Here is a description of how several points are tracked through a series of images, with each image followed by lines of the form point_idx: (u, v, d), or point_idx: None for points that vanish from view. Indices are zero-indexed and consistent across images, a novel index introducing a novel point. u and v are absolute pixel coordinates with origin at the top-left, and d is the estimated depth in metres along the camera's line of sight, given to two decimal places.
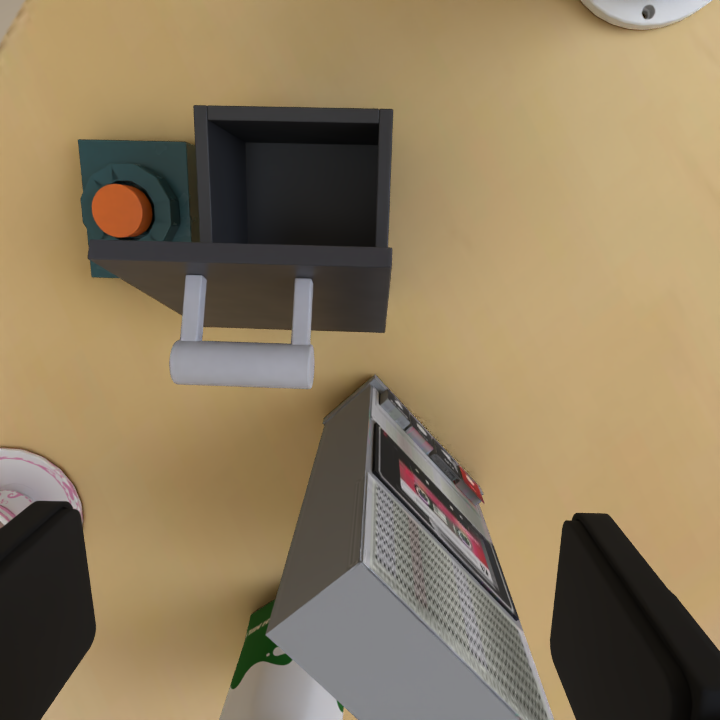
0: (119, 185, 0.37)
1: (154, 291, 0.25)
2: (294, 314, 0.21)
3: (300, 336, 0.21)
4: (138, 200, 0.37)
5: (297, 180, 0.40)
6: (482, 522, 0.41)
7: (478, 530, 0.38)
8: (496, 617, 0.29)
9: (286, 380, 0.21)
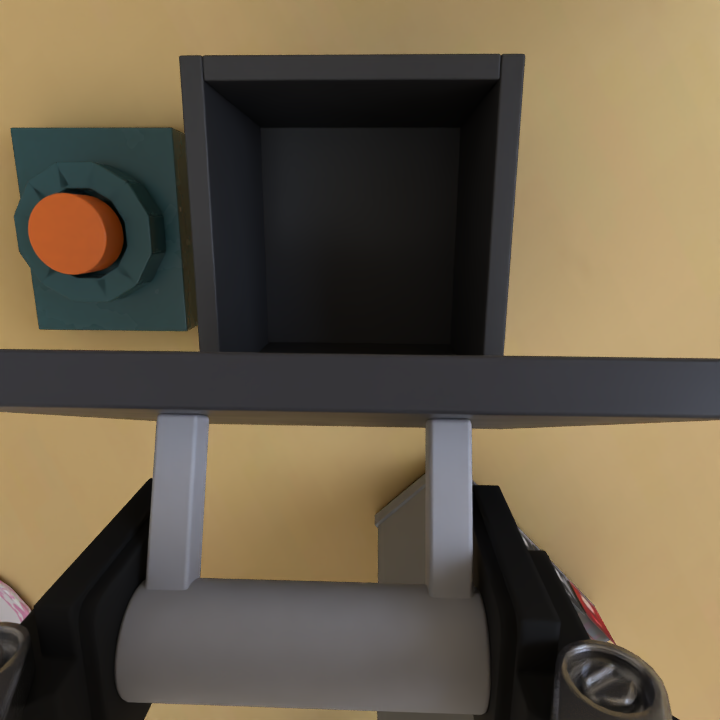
0: (69, 195, 0.24)
1: (99, 416, 0.12)
2: (434, 515, 0.08)
3: (452, 574, 0.08)
4: (99, 217, 0.24)
5: (338, 182, 0.27)
6: None
7: None
8: None
9: (427, 708, 0.08)
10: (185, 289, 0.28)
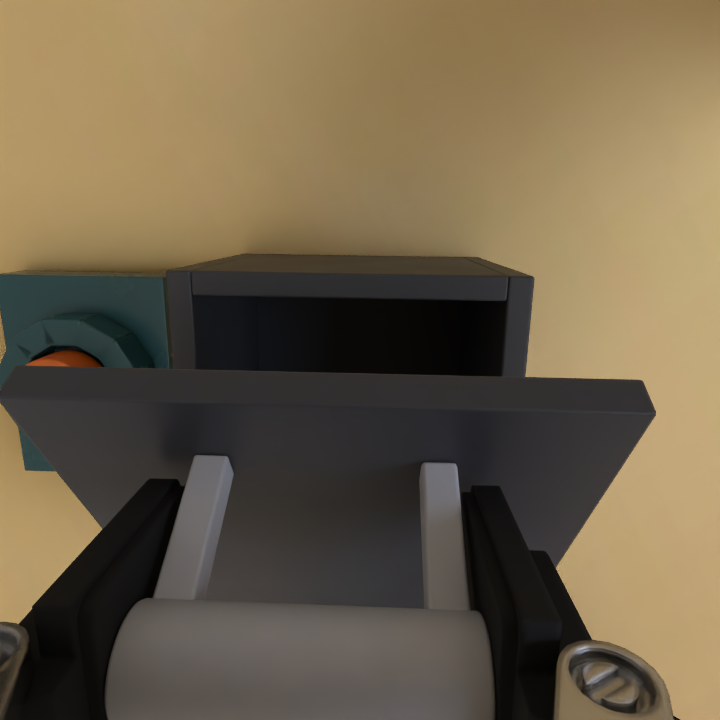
0: (54, 361, 0.23)
1: None
2: (429, 535, 0.09)
3: (449, 588, 0.09)
4: None
5: (336, 326, 0.26)
6: None
7: None
8: None
9: (431, 713, 0.07)
10: None
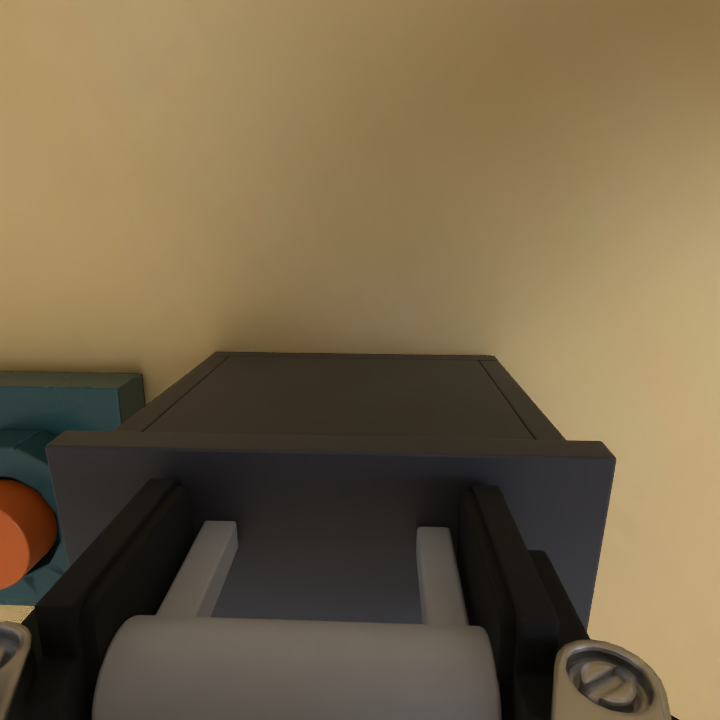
0: None
1: None
2: (426, 576, 0.10)
3: (448, 614, 0.09)
4: (20, 529, 0.19)
5: None
6: None
7: None
8: None
9: (434, 698, 0.07)
10: None
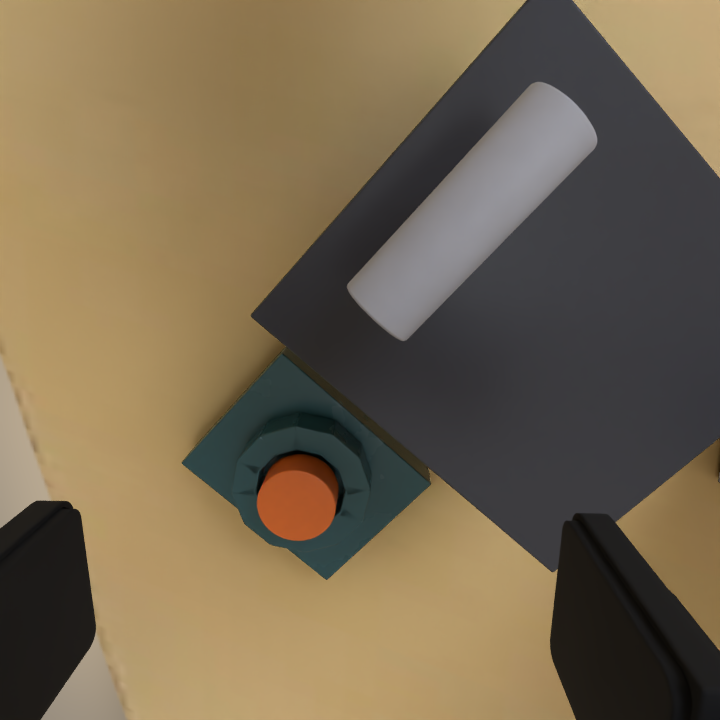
0: (272, 478, 0.24)
1: (382, 402, 0.16)
2: None
3: None
4: (306, 472, 0.24)
5: None
6: None
7: None
8: None
9: (518, 123, 0.10)
10: (399, 455, 0.27)
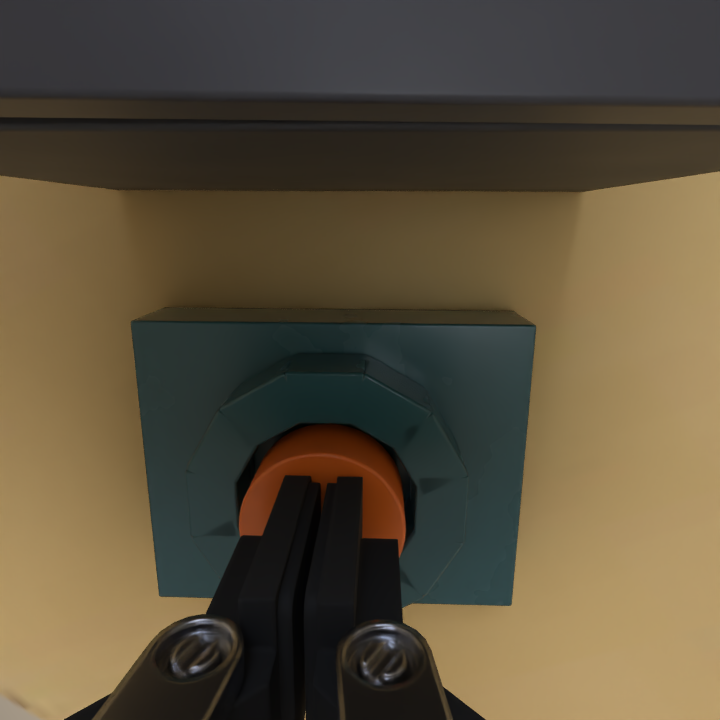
0: (242, 515, 0.11)
1: None
2: None
3: None
4: (284, 461, 0.11)
5: None
6: None
7: None
8: None
9: None
10: (445, 323, 0.13)
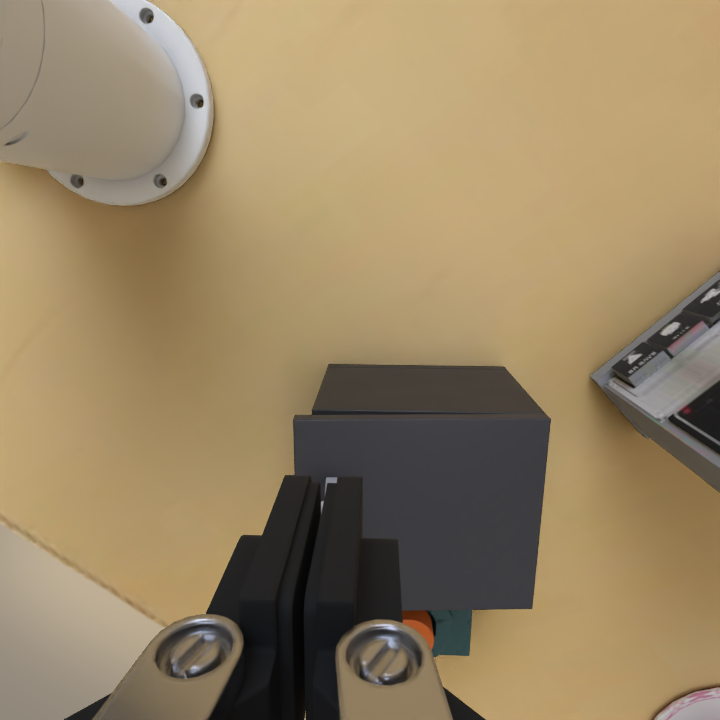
0: None
1: None
2: None
3: None
4: None
5: None
6: None
7: None
8: None
9: None
10: None
